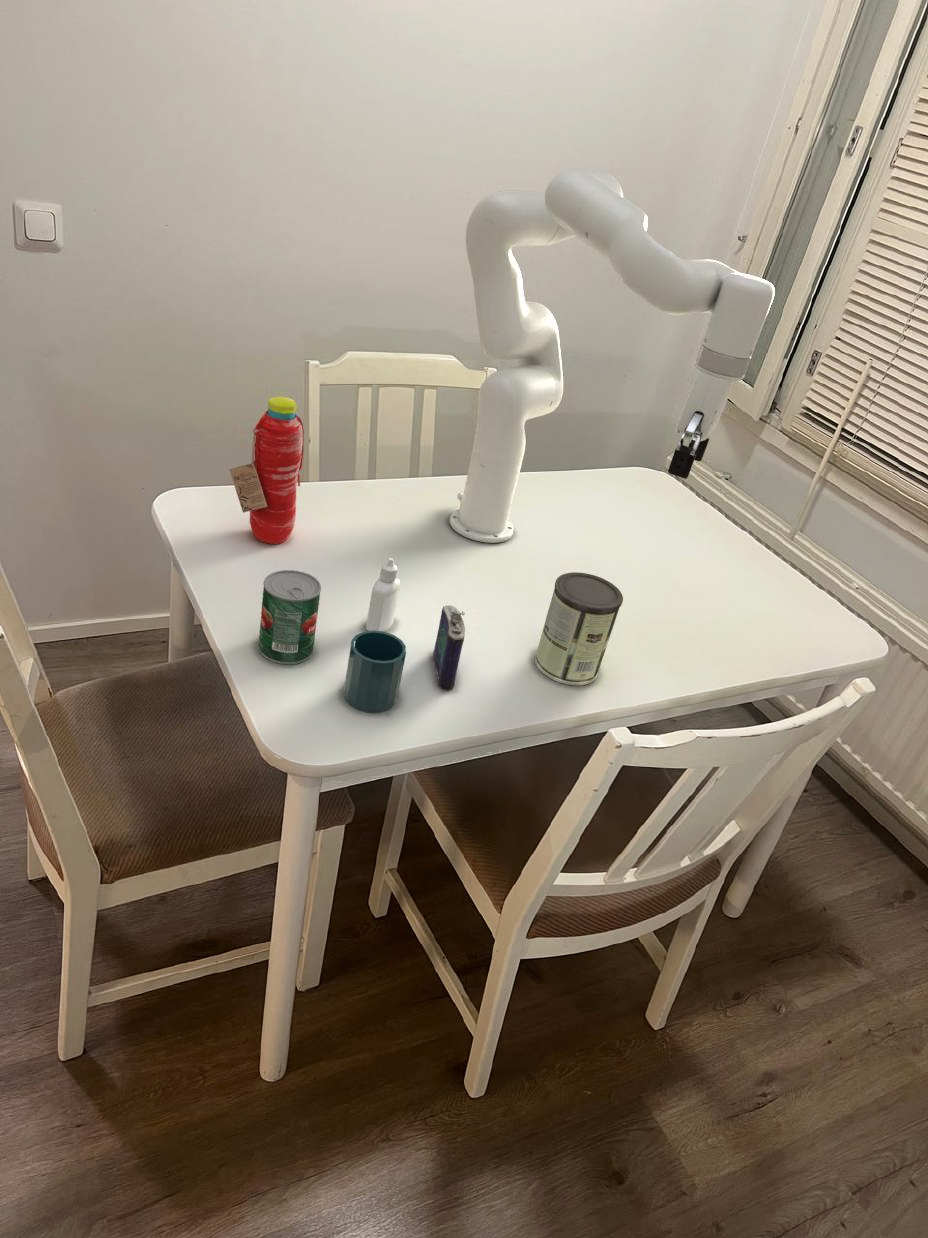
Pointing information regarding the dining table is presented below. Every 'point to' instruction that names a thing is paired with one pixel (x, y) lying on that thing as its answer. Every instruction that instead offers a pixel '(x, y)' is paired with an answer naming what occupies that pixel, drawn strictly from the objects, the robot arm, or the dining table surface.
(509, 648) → the dining table surface
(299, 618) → the canned tomato
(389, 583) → the eye dropper bottle
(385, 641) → the teal cup
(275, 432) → the water bottle
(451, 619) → the flask
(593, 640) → the coffee can
